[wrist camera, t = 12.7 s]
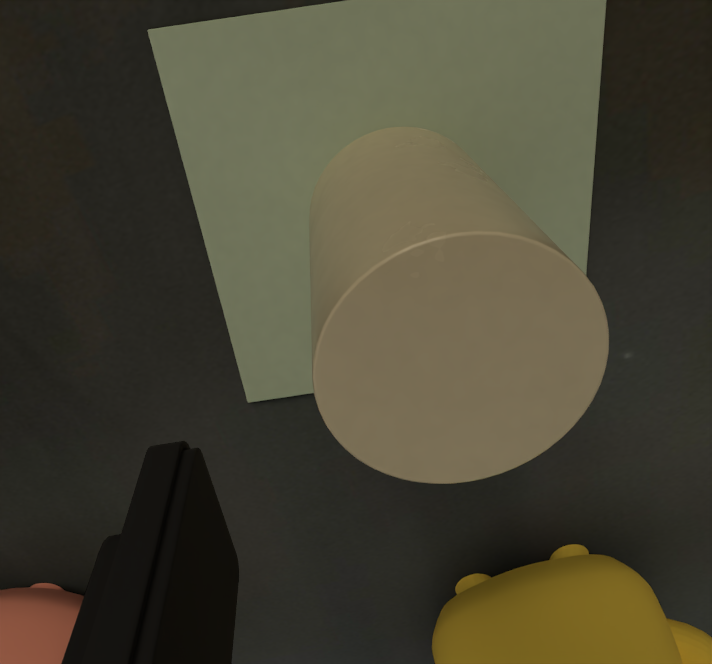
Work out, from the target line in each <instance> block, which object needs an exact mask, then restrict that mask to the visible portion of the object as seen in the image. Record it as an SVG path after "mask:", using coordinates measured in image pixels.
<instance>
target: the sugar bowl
mask: <svg viewBox="0 0 712 664" xmlns="http://www.w3.org/2000/svg"><path fill="white" fill-rule="evenodd" d="M83 598H84V596H82V595H79V594H75V593H71V592H67V591H65V590H64V589H62V588H61V587H59V586H57V585H54V584H50V583H38V584H34V585H32V586H31V587H29V588H28V587H25V588H11V589H4V590H0V664H61V663H62V660H63V657H64V654H65V651H66V648H67V645H68V643H69V640H70V637H71V634H72V631H73V628H74V625H75V622H76V619H77V616H78V613H79V610H80V607H81V604H82V601H83Z"/></svg>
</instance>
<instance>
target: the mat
mask: <svg viewBox="0 0 712 664" xmlns="http://www.w3.org/2000/svg"><path fill="white" fill-rule="evenodd" d="M605 11H606V0H347V1H340V2H334V3H327V4H320V5H313V6H306V7H299V8H293V9H286V10H279V11H272V12H265V13H258V14H252V15H245V16H238V17H231V18H224V19H217V20H211V21H204V22H197V23H190V24H183V25H176V26H170V27H163V28H156V29H149V30H148V35H149V38H150V42H151V46H152V49H153V53H154V57H155V60H156V64H157V68H158V72H159V75H160V79H161V83H162V86H163V90H164V94H165V98H166V101H167V105H168V109H169V112H170V116H171V120H172V123H173V127H174V131H175V135H176V138H177V142H178V146H179V149H180V153H181V157H182V160H183V164H184V168H185V172H186V175H187V179H188V183H189V186H190V190H191V194H192V198H193V201H194V205H195V209H196V212H197V216H198V220H199V223H200V227H201V231H202V235H203V238H204V242H205V246H206V249H207V253H208V257H209V261H210V264H211V268H212V272H213V275H214V279H215V283H216V286H217V290H218V294H219V298H220V301H221V305H222V309H223V312H224V316H225V320H226V324H227V327H228V331H229V335H230V338H231V342H232V346H233V349H234V353H235V357H236V361H237V364H238V368H239V372H240V375H241V379H242V383H243V386H244V390H245V394H246V398H247V401H248V403H249V402H256V401H262V400H269V399H276V398H283V397H290V396H296V395H303V394H310V393H314V389H313V380H312V342H311V292H310V242H309V210H310V204H311V198H312V195H313V192H314V189H315V186H316V184H317V182H318V180H319V177H320V175H321V174H322V172H323V171H324V169H325V168H326V166H327V165H328V164H329V162H330V161H331V160H332V159H333V158H334V156H335V155H337V154H338V153H339V152H340V151H341V150H342V149H343V148H344V147H346V146H347V145H349V144H350V143H351V142H353V141H354V140H356V139H358V138H360V137H362V136H364V135H366V134H369V133H371V132H374V131H377V130H381V129H386V128H390V127H417V128H422V129H427V130H430V131H433V132H436V133H438V134H441V135H442V136H444V137H446V138H448V139H450V140H451V141H453V142H454V143H455V144H457V145H458V146H459V147H461V148H462V149H463V150H464V151H465V152H466V153H467V154H468V155H469V156H470V157H471V158H472V159H473V160H474V161H475V162H476V163H477V164H478V166H479V167H480V168H481V169H482V170H483V171H484V172H485V173H486V174H487V175H488V176H489V177H490V178H491V179H492V180H493V181H494V182H495V183H496V184H497V185H498V186H499V187H500V188H501V189H502V190H503V191H504V192H505V193H506V194H507V195H508V196H509V197H510V198H511V199H512V200H513V201H514V202H515V203H516V204H517V205H518V206H519V207H520V208H521V209H522V210H523V211H524V212H525V213H526V214H527V215H528V216H529V217H530V218H531V219H532V220H533V221H534V223H535V224H536V225H537V226H538V227H539V228H540V229H541V230H542V231H543V232H544V233H545V234H546V235H547V236H548V237H549V238H550V239H551V240H552V241H553V242H554V243H555V244H556V245H557V246H558V247H559V248H560V249H561V250H562V251H563V252H564V253H565V254H566V255H567V256H568V257H569V258H570V259H571V260H572V261H573V262H574V263H575V264H576V265H577V266H578V267H579V268H580V269H581V270H582V271H583V272H584V274H585V275H586V270H587V256H588V242H589V229H590V215H591V202H592V188H593V174H594V161H595V147H596V134H597V120H598V106H599V93H600V79H601V66H602V52H603V38H604V25H605Z"/></svg>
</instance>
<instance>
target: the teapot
mask: <svg viewBox="0 0 712 664" xmlns="http://www.w3.org/2000/svg"><path fill="white" fill-rule="evenodd" d="M455 591H456V593H457V595H456V596H455V597H453V598H452V599H451V600H449V601H448V602H447V603H446V604H445V605H444V606H443V608H442V610H441V612H440V615H439V617H438V619H437V622H436V626H435V629H434V633H433V640H432V652H433V657H434V661H435V664H712V637H710V636H709V635H708V634H706V633H705V632H703V631H702V630H699V629H697V628H695V627H693V626H691V625H689V624H686V623H683V622H679V621H675V620H671V619H666V617H665V615H664V612H663V610H662V608H661V606H660V604H659V602H658V599H657V598H656V596H655V594H654V592H653V590H652V588H651V587H650V585H649V584H648V583H647V582H646V581H645V580H644V579H643V578H642V577H641V576H640V575H639V574H638V573H637V572H635V571H634V570H633V569H631V568H630V567H628V566H627V565H625V564H623V563H622V562H620V561H618V560H616V559H614V558H612V557H610V556H605V555H595V554H590V555H589V552H588V550H587V548H585V547H584V546H582V545H578V544H571V545H566V546H563V547H561V548H559V549H557V550H556V551H555V552H554V553H553V554H552V555H551V557H550V559H549V560H547V561H543V562H538V563H533V564H530V565H526V566H522V567H519V568H516V569H513V570H510V571H507V572H505V573H502V574H500V575H497V576H494V577H492V578H491V577H490V576H488V575H485V574H472V575H468V576H466V577H464V578H462V579H461V580H460V581H459V582H458V583H457V585H456V587H455Z"/></svg>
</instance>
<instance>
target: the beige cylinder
mask: <svg viewBox="0 0 712 664" xmlns="http://www.w3.org/2000/svg"><path fill="white" fill-rule="evenodd" d="M309 242H310V292H311V342H312V380H313V389H314V395H315V399H316V402H317V406H318V409H319V411H320V414H321V416H322V418H323V420H324V422H325V424H326V426H327V427H328V429H329V430H330V432H331V433H332V435H333V436H334V437H335V438H336V439H337V441H338V442H339V443H340V444H341V445H342V446H343V447H344V448H345V449H346V450H347V451H348V452H350V453H351V454H352V455H353V456H354V457H356V458H357V459H358V460H360V461H362V462H363V463H365V464H366V465H368V466H369V467H371V468H374V469H376V470H378V471H380V472H382V473H384V474H387V475H390V476H393V477H396V478H399V479H404V480H409V481H413V482H420V483H430V484H452V483H462V482H470V481H475V480H480V479H484V478H488V477H491V476H495V475H498V474H501V473H504V472H506V471H509V470H511V469H514V468H516V467H518V466H520V465H522V464H524V463H526V462H528V461H530V460H532V459H533V458H535V457H537V456H538V455H540V454H541V453H543V452H544V451H546V450H547V449H549V448H550V447H551V446H552V445H554V444H555V443H556V442H557V441H559V440H560V439H561V438H562V437H563V436H564V435H565V434H566V433H567V432H568V431H569V430H570V429H571V428H572V427H573V426H574V425H575V424H576V423H577V421H578V420H579V419H580V418H581V417H582V415H583V414H584V413H585V411H586V410H587V408H588V407H589V405H590V403H591V402H592V400H593V399H594V397H595V394H596V392H597V390H598V388H599V386H600V384H601V381H602V378H603V375H604V372H605V369H606V364H607V358H608V352H609V331H608V323H607V317H606V314H605V310H604V307H603V304H602V301H601V299H600V297H599V295H598V293H597V291H596V289H595V287H594V286H593V284H592V283H591V282H590V280H589V279H588V278H587V276H586V275H585V274H584V272H583V271H582V270H581V269H580V268H579V267H578V266H577V265H576V264H575V263H574V262H573V261H572V260H571V259H570V258H569V257H568V256H567V255H566V254H565V253H564V252H563V251H562V250H561V249H560V248H559V247H558V246H557V245H556V244H555V243H554V242H553V241H552V240H551V239H550V238H549V237H548V236H547V235H546V234H545V233H544V232H543V231H542V230H541V229H540V228H539V227H538V226H537V225H536V224H535V223H534V221H533V220H532V219H531V218H530V217H529V216H528V215H527V214H526V213H525V212H524V211H523V210H522V209H521V208H520V207H519V206H518V205H517V204H516V203H515V202H514V201H513V200H512V199H511V198H510V197H509V196H508V195H507V194H506V193H505V192H504V191H503V190H502V189H501V188H500V187H499V186H498V185H497V184H496V183H495V182H494V181H493V180H492V179H491V178H490V177H489V176H488V175H487V174H486V173H485V172H484V171H483V170H482V169H481V168H480V167H479V166H478V164H477V163H476V162H475V161H474V160H473V159H472V158H471V157H470V156H469V155H468V154H467V153H466V152H465V151H464V150H463V149H462V148H461V147H459V146H458V145H457V144H455V143H454V142H453V141H451V140H450V139H448V138H446V137H444V136H442V135H441V134H438V133H436V132H433V131H430V130H427V129H422V128H417V127H390V128H386V129H381V130H377V131H374V132H371V133H369V134H366V135H364V136H362V137H360V138H358V139H356V140H354V141H353V142H351V143H350V144H349V145H347V146H346V147H344V148H343V149H342V150H341V151H340V152H339V153H338V154H337V155H335V156H334V158H333V159H332V160H331V161H330V162H329V164H328V165H327V166H326V168H325V169H324V171H323V172H322V174H321V175H320V177H319V180H318V182H317V184H316V186H315V189H314V192H313V195H312V198H311V204H310V210H309Z"/></svg>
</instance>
